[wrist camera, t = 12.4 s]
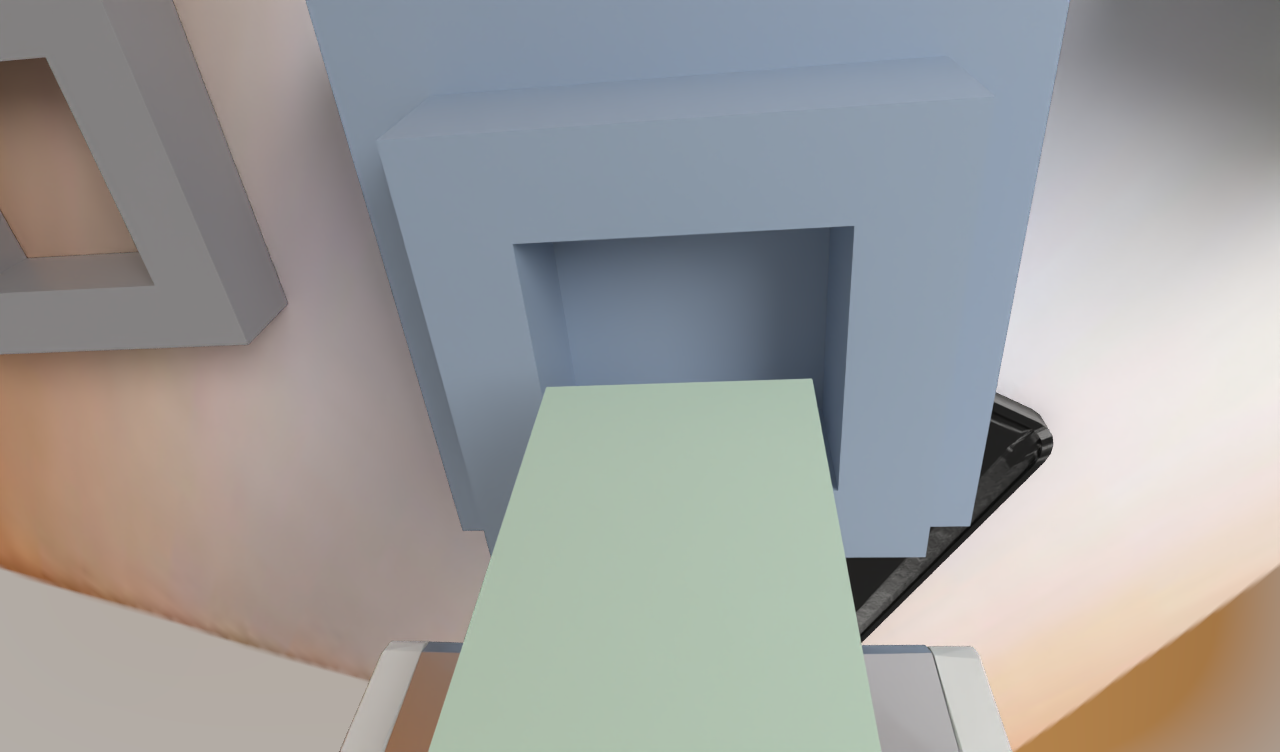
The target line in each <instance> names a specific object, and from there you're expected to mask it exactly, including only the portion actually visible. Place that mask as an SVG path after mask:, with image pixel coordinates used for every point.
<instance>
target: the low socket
mask: <svg viewBox="0 0 1280 752" xmlns="http://www.w3.org/2000/svg"><path fill="white" fill-rule="evenodd" d="M43 57H46V60H47V62H48V64H49V66H50V68H51V70H52V72H53V74H54V76H55V78H56V80H57V82H58V85H59V87H60V89H61V91H62V93H63V95H64V97H65V99H66V101H67V103H68V105H69V107H70V110H71V112H72V114H73V116H74V118H75V120H76V122H77V124H78V126H79V128H80V130H81V133H82V135H83V137H84V139H85V141H86V143H87V145H88V147H89V149H90V151H91V153H92V155H93V158H94V160H95V162H96V164H97V166H98V168H99V170H100V172H101V174H102V176H103V178H104V180H105V183H106V185H107V187H108V189H109V191H110V193H111V195H112V197H113V199H114V201H115V203H116V206H117V208H118V210H119V212H120V214H121V216H122V218H123V220H124V222H125V224H126V226H127V228H128V231H129V233H130V235H131V237H132V239H133V241H134V243H135V245H136V247H137V249H138V251H139V252H129V253H111V254H93V255H75V256H57V257H39V258H27V257H26V256H25V254H24V252H23V250H22V248H21V247H20V245H19V243H18V241H17V240H16V238H15V236H14V234H13V233H12V231H11V229H10V227H9V226H8V224H7V222H6V220H5V218H4V217H3V215H2V213H1V211H0V354H22V353H47V352H73V351H98V350H124V349H149V348H175V347H200V346H225V345H248V344H249V343H250V342H251V341H252V340H253V339H254V338H255V337H256V336H257V335H258V334H259V333H260V332H261V331H262V330H263V329H264V328H265V327H266V326H267V325H268V324H269V323H270V322H271V321H272V320H273V319H274V318H275V317H276V315H277V314H278V313H279V312H280V311H281V310H282V309H283V308H284V307H285V306H286V305H287V304H288V302H287V300H286V297H285V295H284V292H283V289H282V287H281V284H280V281H279V279H278V276H277V274H276V271H275V268H274V266H273V263H272V261H271V258H270V255H269V253H268V250H267V247H266V245H265V242H264V240H263V237H262V234H261V232H260V229H259V226H258V224H257V221H256V219H255V216H254V213H253V211H252V208H251V205H250V203H249V200H248V198H247V195H246V192H245V190H244V187H243V184H242V182H241V179H240V177H239V174H238V171H237V169H236V166H235V163H234V161H233V158H232V156H231V153H230V150H229V148H228V145H227V143H226V140H225V137H224V135H223V132H222V129H221V127H220V124H219V122H218V119H217V116H216V114H215V111H214V108H213V106H212V103H211V101H210V98H209V95H208V93H207V90H206V87H205V85H204V82H203V80H202V77H201V74H200V72H199V69H198V66H197V64H196V61H195V59H194V56H193V53H192V51H191V48H190V45H189V43H188V40H187V38H186V35H185V32H184V30H183V27H182V24H181V22H180V19H179V17H178V14H177V11H176V9H175V6H174V4H173V1H172V0H0V61H9V60H21V59H32V58H43Z"/></svg>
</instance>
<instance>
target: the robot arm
mask: <svg viewBox="0 0 1280 752" xmlns="http://www.w3.org/2000/svg"><path fill="white" fill-rule="evenodd" d="M462 646H463V643H456V642H431V641H391V642H390V644H389V645H388V646H387V647H386V648H385V649H384V651H383V652H382V653H381V655H380V657H379V660H378V662H377V664H376V667H375V669H374V671H373V674H372V676H371V678H370V681H369V683H368V686H367V688H366V690H365V693H364V695H363V697H362V700H361V702H360V704H359V707H358V709H357V711H356V714H355V716H354V718H353V721H352V723H351V725H350V728H349V730H348V732H347V735H346V737H345V739H344V742H343V744H342V747H341V749H340V751H339V752H428V751H429V747H430V744H431V741H432V738H433V735H434V732H435V729H436V726H437V723H438V720H439V717H440V713H441V710H442V707H443V704H444V701H445V698H446V695H447V692H448V689H449V686H450V683H451V680H452V676H453V673H454V670H455V667H456V664H457V661H458V658H459V655H460V652H461V649H462ZM862 650H863V655H864V660H865V666H866V671H867V677H868V682H869V687H870V693H871V698H872V704H873V709H874V714H875V720H876V725H877V731H878V736H879V741H880V747H881V752H1012V749H1011V747H1010V744H1009V741H1008V738H1007V735H1006V732H1005V729H1004V726H1003V723H1002V720H1001V717H1000V714H999V711H998V708H997V705H996V702H995V699H994V696H993V693H992V690H991V687H990V684H989V681H988V678H987V675H986V672H985V669H984V667H983V664H982V661H981V658H980V655H979V654H978V652H977V651H976V650H975V649H974V648H973V647H971V646H928V647H926V645H862Z"/></svg>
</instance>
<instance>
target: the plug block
mask: <svg viewBox="0 0 1280 752" xmlns="http://www.w3.org/2000/svg"><path fill="white" fill-rule="evenodd" d="M428 752H881V747H880V741H879V736H878V731H877V725H876V720H875V714H874V709H873V704H872V698H871V693H870V687H869V682H868V677H867V671H866V666H865V660H864V655H863V650H862V644H861V639H860V633H859V628H858V623H857V617H856V612H855V607H854V601H853V596H852V590H851V585H850V580H849V574H848V569H847V563H846V558H845V553H844V547H843V542H842V536H841V531H840V526H839V520H838V515H837V509H836V504H835V499H834V493H833V488H832V483H831V477H830V472H829V466H828V461H827V456H826V450H825V445H824V439H823V434H822V429H821V423H820V418H819V412H818V407H817V402H816V396H815V391H814V385H813V380H812V379H785V380H753V381H721V382H690V383H658V384H626V385H595V386H563V387H546V389H545V392H544V396H543V399H542V402H541V405H540V408H539V411H538V414H537V417H536V420H535V423H534V426H533V430H532V433H531V436H530V439H529V442H528V445H527V448H526V451H525V454H524V457H523V460H522V463H521V467H520V470H519V473H518V476H517V479H516V482H515V485H514V488H513V491H512V494H511V497H510V501H509V504H508V507H507V510H506V513H505V516H504V519H503V522H502V525H501V528H500V531H499V534H498V538H497V541H496V544H495V547H494V550H493V553H492V556H491V559H490V562H489V565H488V568H487V572H486V575H485V578H484V581H483V584H482V587H481V590H480V593H479V596H478V599H477V602H476V605H475V609H474V612H473V615H472V618H471V621H470V624H469V627H468V630H467V633H466V636H465V639H464V643H463V646H462V649H461V652H460V655H459V658H458V661H457V664H456V667H455V670H454V673H453V676H452V680H451V683H450V686H449V689H448V692H447V695H446V698H445V701H444V704H443V707H442V710H441V713H440V717H439V720H438V723H437V726H436V729H435V732H434V735H433V738H432V741H431V744H430V747H429V751H428Z"/></svg>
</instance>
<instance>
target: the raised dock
mask: <svg viewBox="0 0 1280 752" xmlns="http://www.w3.org/2000/svg"><path fill="white" fill-rule="evenodd" d="M1069 3H1070V0H306V4H307V7H308V10H309V14H310V17H311V20H312V24H313V27H314V31H315V34H316V37H317V41H318V44H319V47H320V51H321V54H322V57H323V61H324V64H325V68H326V71H327V74H328V78H329V81H330V84H331V88H332V91H333V95H334V98H335V101H336V105H337V108H338V111H339V115H340V118H341V122H342V125H343V128H344V132H345V135H346V138H347V142H348V145H349V149H350V152H351V155H352V159H353V162H354V165H355V169H356V172H357V176H358V179H359V182H360V186H361V189H362V192H363V196H364V199H365V203H366V206H367V209H368V213H369V216H370V219H371V223H372V226H373V229H374V233H375V236H376V240H377V243H378V246H379V250H380V253H381V256H382V260H383V263H384V267H385V270H386V273H387V277H388V280H389V283H390V287H391V290H392V294H393V297H394V300H395V304H396V307H397V310H398V314H399V317H400V321H401V324H402V327H403V331H404V334H405V337H406V341H407V344H408V348H409V351H410V354H411V358H412V361H413V364H414V368H415V371H416V375H417V378H418V381H419V385H420V388H421V391H422V395H423V398H424V402H425V405H426V408H427V412H428V415H429V418H430V422H431V425H432V428H433V432H434V435H435V439H436V442H437V445H438V449H439V452H440V455H441V459H442V462H443V466H444V469H445V472H446V476H447V479H448V482H449V486H450V489H451V493H452V496H453V499H454V503H455V506H456V509H457V513H458V516H459V520H460V523H461V526H462V530H463V531H481V530H484V533H485V537H486V541H487V544H488V548H489V551H490V555H491V556H492V553H493V550H494V547H495V544H496V541H497V538H498V534H499V531H500V528H501V525H502V522H503V519H504V516H505V513H506V510H507V507H508V504H509V501H510V497H511V494H512V491H513V488H514V485H515V482H516V479H517V476H518V473H519V470H520V467H521V463H522V460H523V457H524V454H525V451H526V448H527V445H528V442H529V439H530V436H531V433H532V430H533V426H534V423H535V420H536V417H537V414H538V411H539V408H540V405H541V402H542V399H543V396H544V392H545V389H546V387H563V386H595V385H626V384H658V383H690V382H721V381H753V380H785V379H812V380H813V385H814V391H815V396H816V402H817V407H818V412H819V418H820V423H821V429H822V434H823V439H824V445H825V450H826V456H827V461H828V466H829V472H830V477H831V483H832V488H833V493H834V499H835V504H836V509H837V515H838V520H839V526H840V531H841V536H842V542H843V547H844V553H845V558H854V557H926V551H927V544H928V538H929V531H930V527H949V526H970V524H971V519H972V514H973V509H974V503H975V498H976V493H977V487H978V482H979V477H980V472H981V466H982V461H983V456H984V451H985V445H986V440H987V435H988V430H989V424H990V419H991V414H992V409H993V403H994V398H995V393H996V388H997V382H998V377H999V372H1000V366H1001V361H1002V356H1003V351H1004V345H1005V340H1006V335H1007V330H1008V324H1009V319H1010V314H1011V309H1012V303H1013V298H1014V293H1015V288H1016V282H1017V277H1018V272H1019V267H1020V261H1021V256H1022V251H1023V245H1024V240H1025V235H1026V230H1027V224H1028V219H1029V214H1030V209H1031V203H1032V198H1033V193H1034V188H1035V182H1036V177H1037V172H1038V167H1039V161H1040V156H1041V151H1042V145H1043V140H1044V135H1045V130H1046V124H1047V119H1048V114H1049V109H1050V103H1051V98H1052V93H1053V88H1054V82H1055V77H1056V72H1057V67H1058V61H1059V56H1060V51H1061V46H1062V40H1063V35H1064V30H1065V24H1066V19H1067V14H1068V9H1069Z"/></svg>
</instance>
